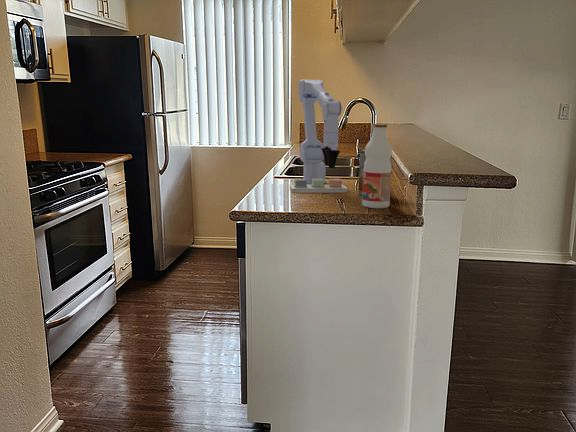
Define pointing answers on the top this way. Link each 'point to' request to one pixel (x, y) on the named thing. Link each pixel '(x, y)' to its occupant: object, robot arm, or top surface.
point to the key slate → (300, 182)
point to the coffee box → (361, 172)
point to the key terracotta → (335, 182)
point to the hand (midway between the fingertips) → (329, 166)
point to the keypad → (317, 189)
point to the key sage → (318, 182)
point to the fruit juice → (377, 169)
